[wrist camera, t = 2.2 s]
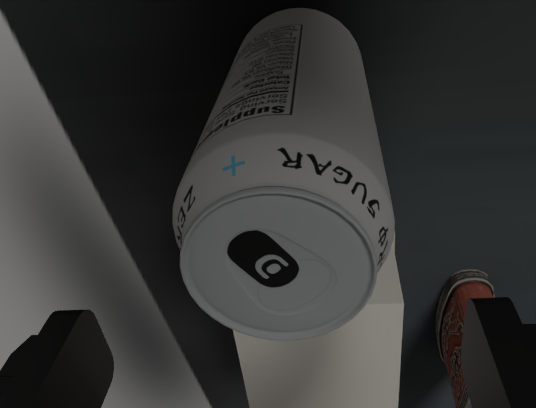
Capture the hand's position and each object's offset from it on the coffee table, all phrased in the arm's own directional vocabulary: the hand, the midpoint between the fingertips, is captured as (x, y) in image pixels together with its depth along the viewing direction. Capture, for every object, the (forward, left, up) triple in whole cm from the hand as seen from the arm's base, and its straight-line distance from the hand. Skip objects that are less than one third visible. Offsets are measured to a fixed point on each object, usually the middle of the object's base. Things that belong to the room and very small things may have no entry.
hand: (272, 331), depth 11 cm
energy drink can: (0, 0, -17) cm, 17 cm away
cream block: (+11, 0, -12) cm, 17 cm away
